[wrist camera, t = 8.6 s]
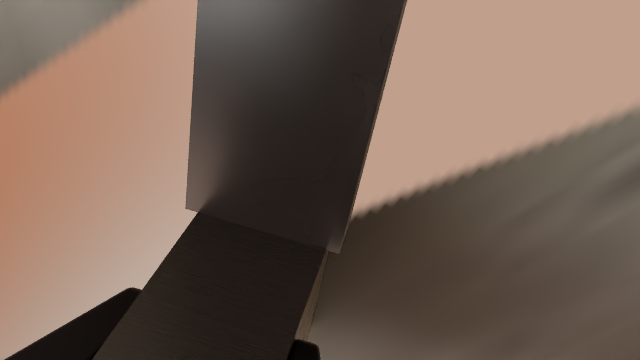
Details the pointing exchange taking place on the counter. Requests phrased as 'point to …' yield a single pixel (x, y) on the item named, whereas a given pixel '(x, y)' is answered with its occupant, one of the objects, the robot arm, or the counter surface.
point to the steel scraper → (264, 176)
